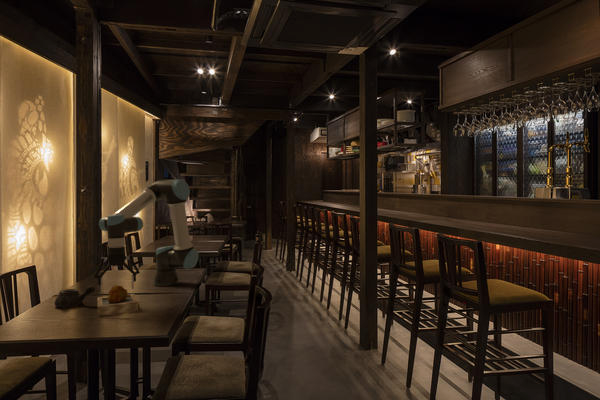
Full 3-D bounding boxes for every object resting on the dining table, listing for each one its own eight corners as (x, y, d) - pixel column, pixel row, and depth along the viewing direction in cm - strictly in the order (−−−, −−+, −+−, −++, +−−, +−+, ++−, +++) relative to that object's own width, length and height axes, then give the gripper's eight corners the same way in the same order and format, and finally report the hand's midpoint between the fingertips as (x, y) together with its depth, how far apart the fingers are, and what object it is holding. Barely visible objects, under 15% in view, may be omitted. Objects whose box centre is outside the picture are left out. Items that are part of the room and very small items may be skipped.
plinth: (134, 301, 211) (134, 293, 211) (138, 310, 194) (137, 302, 194) (97, 306, 204) (97, 297, 204) (98, 315, 187) (97, 306, 187)
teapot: (47, 311, 195) (47, 290, 195) (60, 303, 210) (60, 283, 210) (90, 309, 199) (90, 288, 198) (99, 301, 214) (99, 281, 214)
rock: (106, 310, 199) (110, 292, 206) (124, 311, 201) (128, 293, 208) (107, 298, 191) (111, 280, 198) (126, 299, 194) (129, 281, 201)
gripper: (143, 243, 208) (144, 285, 208) (87, 247, 196) (88, 291, 197) (144, 245, 201) (145, 288, 201) (87, 249, 190) (88, 295, 190)
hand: (117, 290), depth 199 cm, fingers open, 13 cm apart
